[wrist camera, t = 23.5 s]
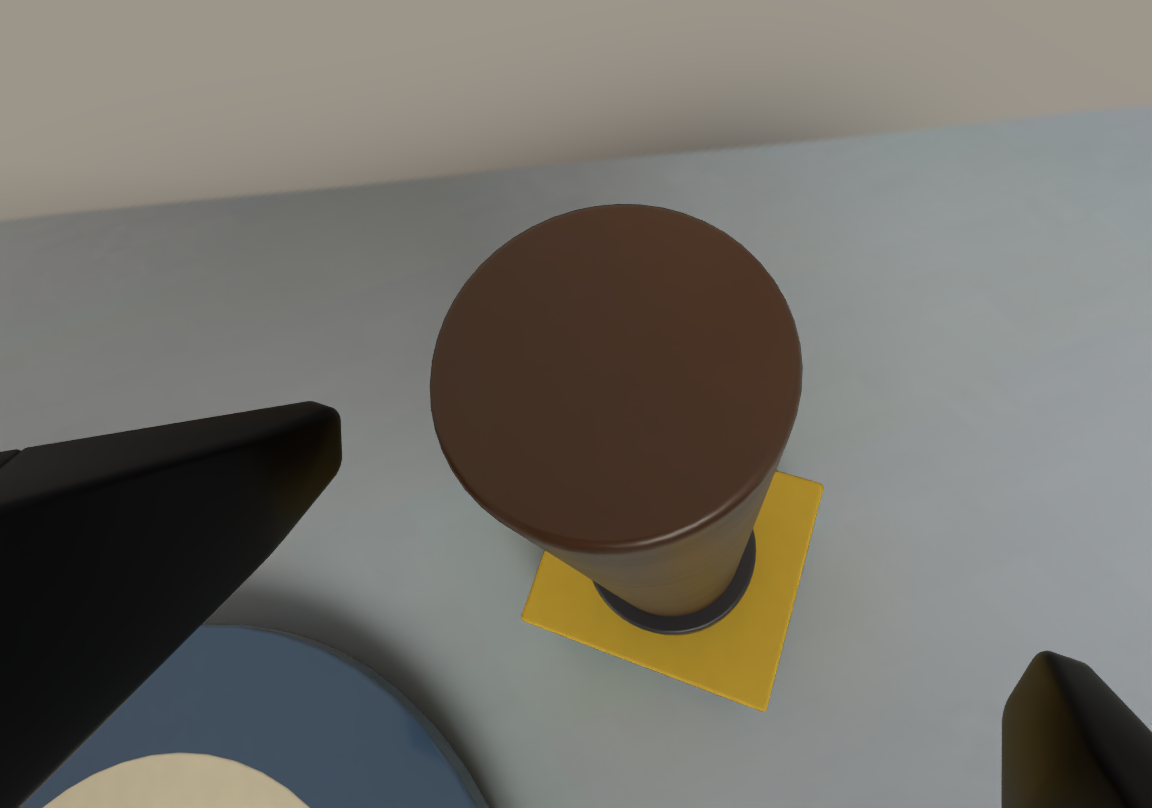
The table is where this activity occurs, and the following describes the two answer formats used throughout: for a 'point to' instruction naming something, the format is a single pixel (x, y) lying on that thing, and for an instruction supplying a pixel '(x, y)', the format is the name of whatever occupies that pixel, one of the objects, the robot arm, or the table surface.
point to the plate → (262, 735)
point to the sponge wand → (636, 437)
